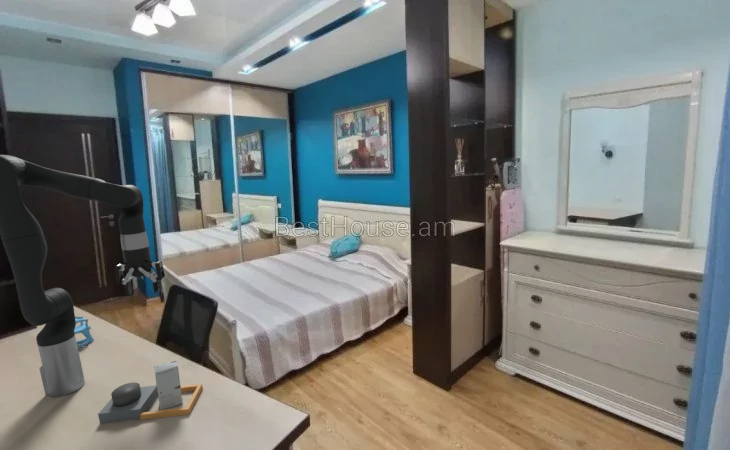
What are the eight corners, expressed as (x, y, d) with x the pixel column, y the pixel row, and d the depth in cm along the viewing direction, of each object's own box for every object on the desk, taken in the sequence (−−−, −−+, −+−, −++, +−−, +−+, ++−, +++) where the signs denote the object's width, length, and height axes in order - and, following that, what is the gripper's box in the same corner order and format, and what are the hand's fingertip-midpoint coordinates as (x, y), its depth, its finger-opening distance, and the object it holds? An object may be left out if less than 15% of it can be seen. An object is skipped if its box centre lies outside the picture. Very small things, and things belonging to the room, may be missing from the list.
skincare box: (160, 411, 105) (153, 373, 103) (159, 403, 109) (152, 366, 107) (183, 403, 109) (178, 366, 106) (181, 395, 112) (176, 359, 110)
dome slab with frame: (98, 424, 101) (94, 405, 100) (122, 397, 113) (118, 379, 112) (189, 413, 104) (186, 395, 102) (202, 388, 115) (200, 370, 114)
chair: (97, 342, 150) (92, 314, 148) (72, 351, 143) (67, 322, 141) (88, 338, 154) (83, 311, 152) (64, 346, 147) (59, 318, 145)
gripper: (105, 250, 115) (114, 299, 118) (153, 247, 116) (160, 295, 119) (118, 245, 122) (126, 291, 125) (163, 242, 124) (170, 287, 127)
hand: (143, 293), depth 122 cm, fingers open, 8 cm apart
